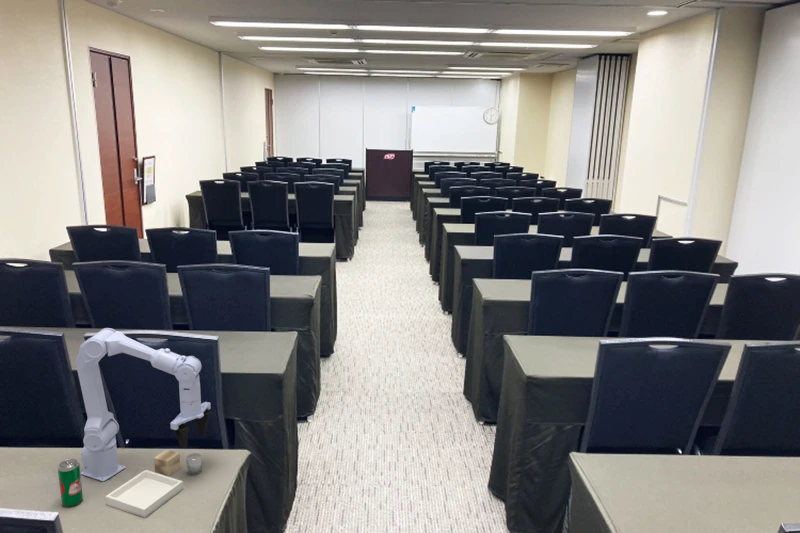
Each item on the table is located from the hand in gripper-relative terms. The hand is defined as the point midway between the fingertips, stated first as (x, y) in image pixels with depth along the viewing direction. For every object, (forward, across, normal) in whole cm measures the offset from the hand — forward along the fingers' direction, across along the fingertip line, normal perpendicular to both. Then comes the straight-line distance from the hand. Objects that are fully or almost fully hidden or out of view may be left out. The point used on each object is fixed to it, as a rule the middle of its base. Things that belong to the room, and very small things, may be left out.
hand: (192, 440), depth 167 cm
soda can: (+11, -25, +20) cm, 34 cm away
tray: (+10, -15, +4) cm, 19 cm away
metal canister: (+10, 0, 0) cm, 10 cm away
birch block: (+10, -2, +8) cm, 13 cm away
